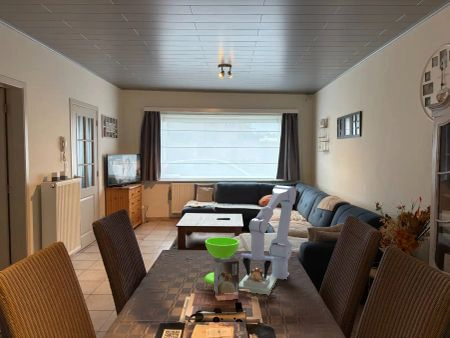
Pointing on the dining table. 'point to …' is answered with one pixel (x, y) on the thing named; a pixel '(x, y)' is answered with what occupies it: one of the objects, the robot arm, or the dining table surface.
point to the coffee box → (226, 275)
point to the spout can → (256, 275)
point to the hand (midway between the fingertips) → (256, 276)
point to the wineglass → (220, 250)
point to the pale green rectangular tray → (258, 284)
